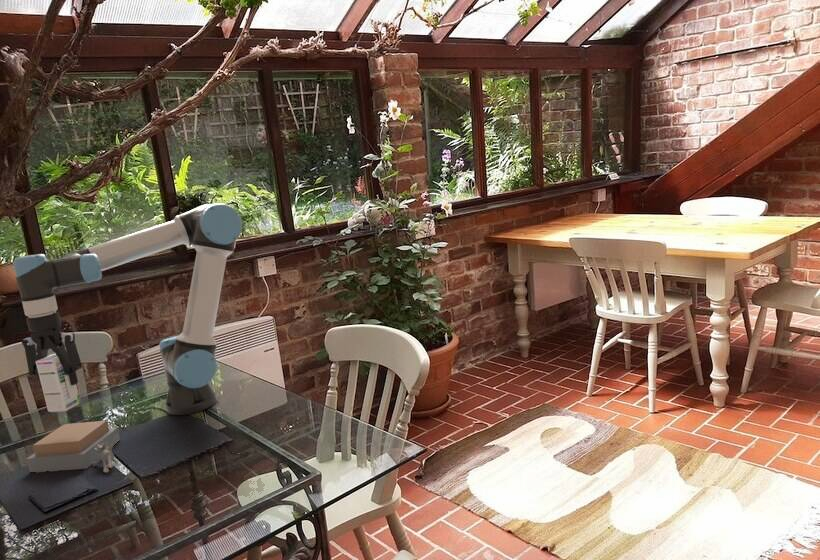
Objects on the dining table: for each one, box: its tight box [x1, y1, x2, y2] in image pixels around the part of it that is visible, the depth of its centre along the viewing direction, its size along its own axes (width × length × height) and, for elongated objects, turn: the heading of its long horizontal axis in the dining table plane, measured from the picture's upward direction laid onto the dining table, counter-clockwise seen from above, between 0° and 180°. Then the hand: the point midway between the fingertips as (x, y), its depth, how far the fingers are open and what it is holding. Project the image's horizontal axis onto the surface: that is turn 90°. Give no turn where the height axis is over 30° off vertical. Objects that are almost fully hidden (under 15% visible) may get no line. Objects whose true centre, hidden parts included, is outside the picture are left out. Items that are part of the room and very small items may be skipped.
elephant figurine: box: [91, 437, 121, 473], centre depth 161 cm, size 10×6×9 cm
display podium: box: [26, 420, 121, 473], centre depth 170 cm, size 16×16×7 cm
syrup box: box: [36, 353, 82, 413], centre depth 166 cm, size 6×6×14 cm
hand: (62, 397), depth 167 cm, fingers closed on syrup box, 6 cm apart
